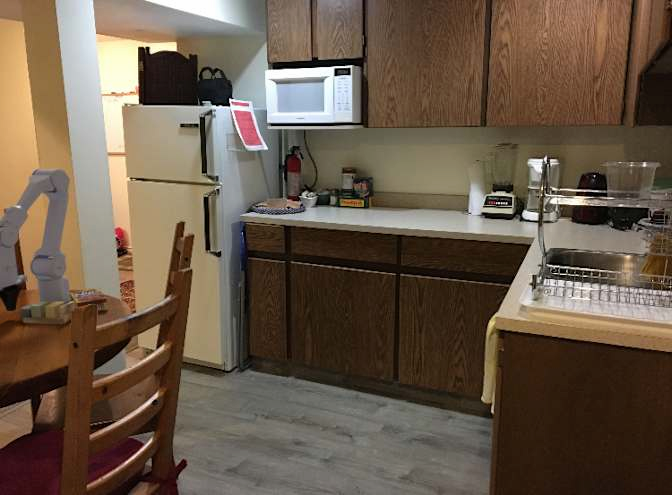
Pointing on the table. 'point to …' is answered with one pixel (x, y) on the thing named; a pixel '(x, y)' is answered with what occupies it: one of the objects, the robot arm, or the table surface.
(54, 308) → the yellow thick square block
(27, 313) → the bookend
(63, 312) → the tan l-frame
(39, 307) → the olive book
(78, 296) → the candy box
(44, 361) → the table surface
